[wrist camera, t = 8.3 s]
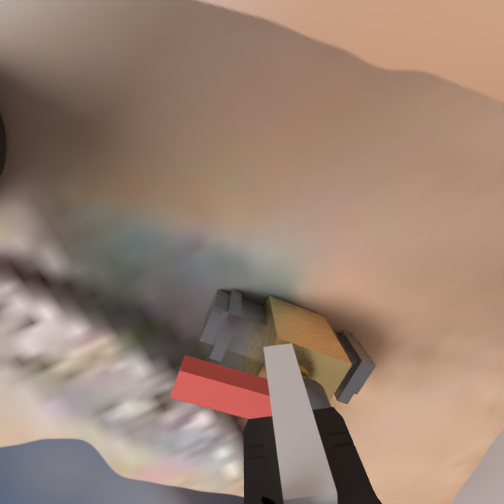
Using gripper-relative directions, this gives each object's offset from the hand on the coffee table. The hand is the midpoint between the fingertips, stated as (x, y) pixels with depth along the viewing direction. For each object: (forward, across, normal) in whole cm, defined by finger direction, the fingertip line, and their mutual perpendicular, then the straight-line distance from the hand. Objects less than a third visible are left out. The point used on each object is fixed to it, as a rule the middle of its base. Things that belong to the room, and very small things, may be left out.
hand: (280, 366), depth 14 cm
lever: (+5, -2, -6) cm, 8 cm away
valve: (+15, +2, -8) cm, 17 cm away
